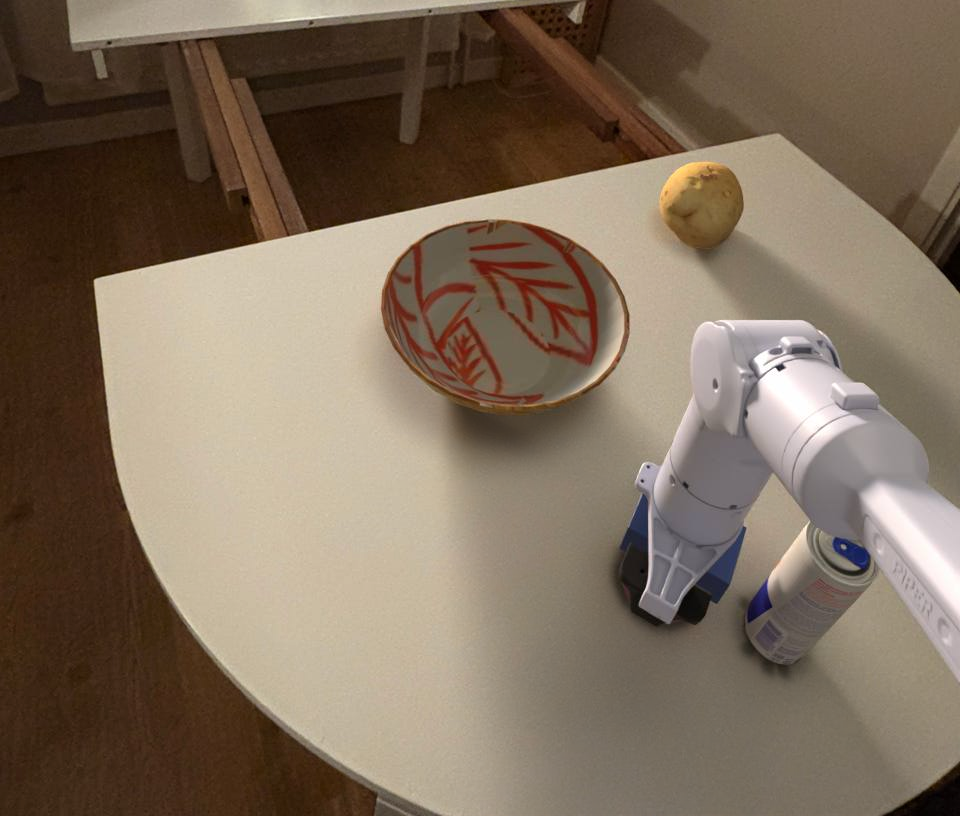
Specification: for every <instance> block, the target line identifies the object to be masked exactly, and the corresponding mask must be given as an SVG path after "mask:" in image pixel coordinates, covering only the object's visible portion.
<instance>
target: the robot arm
mask: <svg viewBox="0 0 960 816" xmlns="http://www.w3.org/2000/svg"><path fill="white" fill-rule="evenodd" d="M834 345H835V344H834V342H833V341H832V339H830V337H829V336H828V335H827V334H826V333H824V332H823V331H821V330H819V329H816V327H815V326H814V325H812V324H811V323H810V322H808V321H805V320H802V319H719V320H716V321H715V322H712V321H704V322H702V323H701V324H700V325H699V326H698V328H697V329H696V331H695V333H694V336H693V339H692V342H691V349H690V358H689V359H690V361H689V362H690V363H689V364H690V367H689V368H690V381H691V388H692V393H693V394H692V397H691V399H690V401H689V403H688V406H687V408H686V411H685V413H684V415H683V416H682V419H681V422H680V423H679V426H678V428H677V431H676V433H675V435H674V438H672V441H671V443H670V446H669V448H668V450H667V453H666V455H665V457H664V461H663V463H662V464H661V465H657V464H655V463H653V462H650V461H647V462H643V463H642V465H641V467H640V469H639V472H638V473H637V476H636V478H635V481H634V487H635V490H637V491H638V492H639V493H640V494H644V495H645V496H646V497H647V499H648V540H649V553H648V552H647V551H645V550H643V549H641V548H640V547H638V546H636V545H634V544H633V543H630V544H629V546H628V549H627V551H626V553H625V552H624V556H623V559H622V561H621V563H620V565H619V570H618V571H619V573H618V580H619V582H620V583H621V585H622V584H623V585H625V586H626V588H627V589H628V590H629V594H630V601H629V609H630V612H631V614H633V615H635V616H637V617H638V618H640V619H642V620H644V621H645V622H647V623H648V624H650V625H652V626H654V627H655V628H657V627H661V626H663V625H665V624H666V625H670V624H672V623H671V621H672V620H680V621H679V622H684V623H686V624H689V625H692V626H698V625H699V624H700V623H701V622H703V620H704V619H705V617H706V615H707V612H708V609H709V606H710V603H711V601H710V600H711V597H712V594H711V593H710V592H708V591H707V590H705V589H703V588H701V587H700V586H698V585H696V584H695V583H696V582H697V581H698V580H699V579H700V578H701V577H702V576H703V575H704V574H705V573H706V572H707V571H708V570H709V569H710V568H711V566H712V565H713V564H714V563H715V562H716V561H717V560H718V559H719V558H720V557H721V556H722V555H723V554H724V553H725V552H726V550H727V549H728V548H729V547H730V546H731V545H732V544H733V543H734V542H735V540H736V539H737V537H738V536H739V534H740V532H741V530H742V528H743V526H744V522H745V520H746V517H747V516H748V514H749V513H750V511H751V510H752V508H753V506H754V504H755V503H756V501H757V500H758V498H759V497H760V495H761V493H762V491H763V490H764V488H765V487H766V485H767V483H768V482H769V480H770V478H772V477H771V476H772V475H773V474H774V475H775V477H776V478H777V479H778V480H779V482H780V483H781V484H782V486H783V487H784V488H785V489H786V491H787V492H788V493H789V495H790V496H791V498H792V499H793V500H794V501H795V502H796V504H797V505H798V507H799V508H800V509H801V511H802V512H803V513H804V515H805V516H806V517H807V518H808V520H809V521H811V522H812V523H813V524H814V525H815V526H816V527H817V528H819V529H820V530H822V531H823V532H825V533H827V534H829V535H832V536H835V537H838V538H843V539H851V540H860V541H861V543H862V544H863V546H864V547H865V548H866V550H867V551H868V553H869V554H870V556H871V557H872V558H873V560H874V561H875V563H876V564H877V566H878V567H879V569H880V570H879V571H881V573H882V575H883V576H884V577H885V579H886V580H887V582H888V583H889V585H890V586H891V588H892V589H893V590H894V591H895V593H896V595H897V596H898V597H899V600H901V602H902V603H903V605H904V606H905V608H906V609H907V610H908V612H909V613H910V615H911V617H912V618H913V619H914V621H915V622H916V623H917V625H918V627H919V628H920V629H921V631H922V632H923V633H924V635H925V636H926V638H927V639H928V641H929V642H930V643H931V645H932V646H933V648H934V649H935V651H936V652H937V654H938V655H939V657H940V658H941V660H942V661H943V662H944V664H945V665H946V667H947V668H948V669H949V671H950V672H951V674H952V675H953V677H954V678H955V680H956V681H957V683H958V684H959V685H960V509H959V508H958V507H957V506H956V505H954V504H953V503H952V502H951V501H950V500H948V499H947V498H946V497H944V495H942V494H941V493H939V491H937V490H936V489H934V488H933V487H932V486H931V485H930V484H929V479H930V463H929V458H928V455H927V452H926V449H925V447H924V446H923V443H922V442H921V441H920V440H919V438H918V437H917V436H916V435H915V434H914V433H913V432H912V431H910V429H908V428H907V427H906V426H905V425H904V424H902V422H900V421H899V420H898V419H897V418H896V417H894V416H893V415H892V414H891V413H890V412H889V411H888V410H886V408H884V407H883V406H882V405H881V404H879V403H880V396H879V394H877V393H876V392H875V391H874V390H873V389H871V388H870V387H869V386H868V385H866V384H865V383H864V382H855V381H854V380H853V379H851V378H850V377H849V376H847V375H848V374H845V372H843V365H842V363H841V358H840V355H839V353H838V350H837V348H836V346H834ZM623 585H622V586H623Z"/></svg>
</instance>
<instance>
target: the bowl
mask: <svg viewBox="0 0 960 816" xmlns="http://www.w3.org/2000/svg"><path fill="white" fill-rule="evenodd" d="M380 301H381V303H380V312H381V317H382V323H383V327H384V330H385V333H386V334H387V337H388V339H389V342H390V343H391V345H392V347H393V349H394V351H395V352H396V353H397V354H398V355H399V357H400V358H401V359H402V361H403V362H404V363H405V364H406V366H407V367H408V368H409V369H410V371H412V373H413V374H415V375H416V376H417V377H418V378H419V379H420V380H421V381H423V382H424V383H425V384H426V385H427V386H428V387H429V388H431V389H432V390H433V391H434V392H436V393H438V394H440V395H442V396H443V397H445V398H446V399H448V400H450V401H451V402H453V403H456V404H458V405H461V406H463V407H466V408H470V409H473V410H475V411H480V412H484V413H490V414H496V415H500V416H505V415H506V416H507V415H508V416H510V415H511V416H513V415H514V416H517V415H518V416H525V415H530V414H531V415H532V414H537V413H542V412H543V413H544V412H548V411H551V410H553V409H556V408H558V407H561V406H563V405H566V404H569V403H572V402H574V401H576V400H578V399H580V398H581V397H583V396H584V395H586V394H588V393H589V392H591V391H592V390H594V389H595V388H597V387H599V386H600V385H601V384H602V383H604V381H606V379H608V377H610V375H611V374H612V373H613V372H614V371H615V370H616V369H617V367H618V365H619V363H620V361H621V360H622V358H623V356H624V355H625V353H626V349H627V345H628V342H629V338H630V334H631V333H630V331H631V330H630V328H631V327H630V325H631V324H630V323H631V322H630V311H629V308H628V304H627V299H626V297H625V295H624V293H623V291H622V289H621V286H620V285H619V283H618V281H617V279H616V278H615V276H614V275H613V274H612V273H611V271H610V270H609V269H608V268H607V266H606V265H605V264H604V263H603V262H602V261H601V260H600V259H599V258H597V256H595V255H594V254H593V253H592V252H591V251H590V250H589V249H588V248H586V247H584V246H582V245H581V244H580V243H578V242H576V241H575V240H573V239H571V238H570V237H568V236H565V235H563V234H561V233H559V232H557V231H555V230H553V229H550V228H547V227H543V226H541V225H538V224H533V223H530V222H525V221H519V220H514V219H513V220H512V219H502V218H501V219H500V218H484V219H483V218H482V219H473V220H464V221H460V222H456V223H453V224H448V225H444V226H443V227H441V228H437V229H435V230H433V231H431V232H429V233H426V234H425V235H424V236H422V237H420V238H419V239H418V240H416V241H414V242H413V243H411V244H409V246H408V247H407V248H406V249H405V250H404V251H403V252H401V254H400V255H399V256H398V257H397V258H396V260H395V262H394V263H393V265H392V266H391V268H390V269H389V271H388V272H387V274H386V277H385V280H384V283H383V287H382V290H381V300H380Z"/></svg>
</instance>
